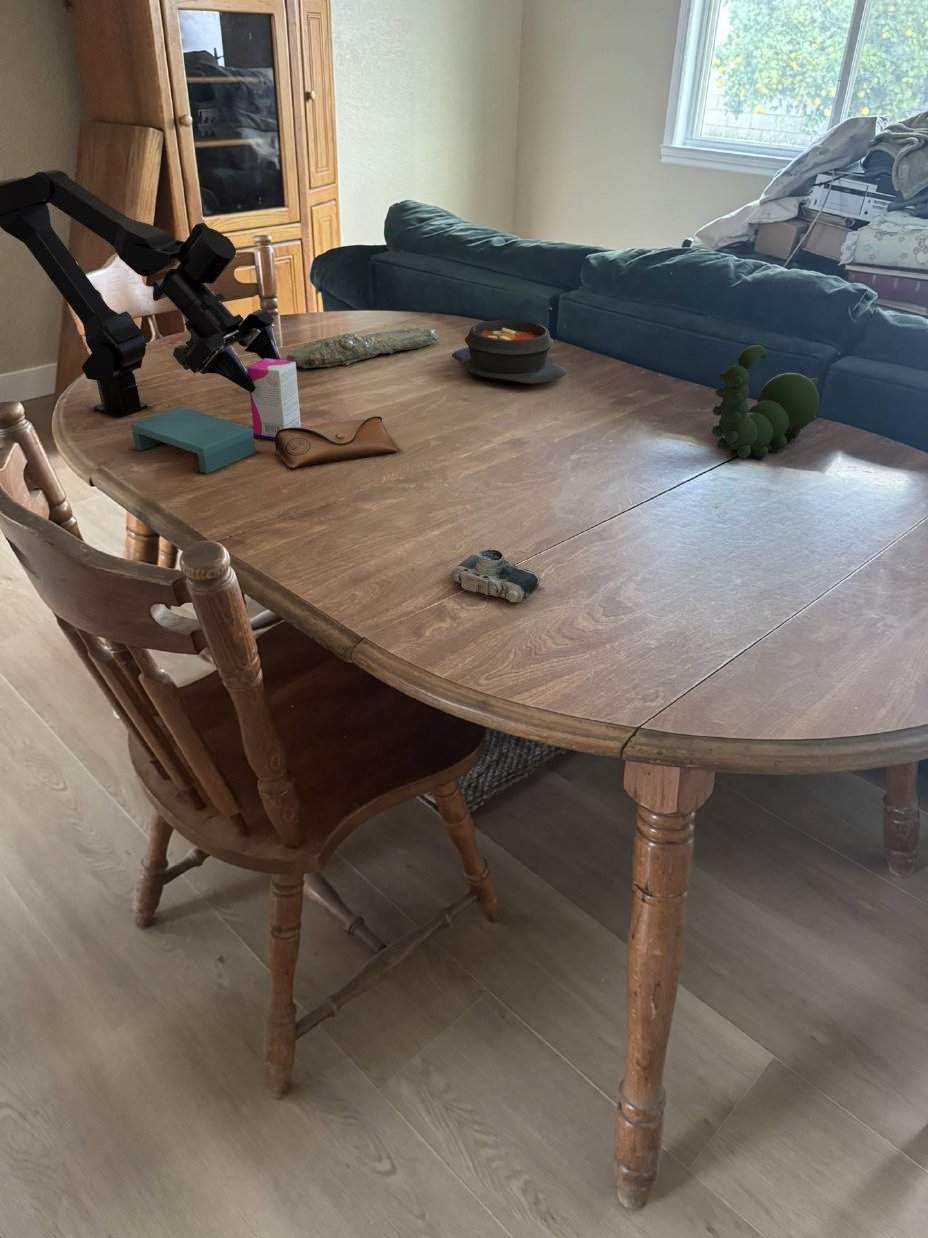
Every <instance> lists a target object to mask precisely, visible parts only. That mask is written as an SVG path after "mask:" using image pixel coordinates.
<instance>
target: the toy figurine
mask: <svg viewBox="0 0 928 1238" xmlns="http://www.w3.org/2000/svg"><path fill="white" fill-rule="evenodd" d="M760 358H761V359H766V358H767V350H766V349H765V347H764V346H761V345H759V344H755V345H754V344H753V345H750V346H749V347H747V348H745V349H744V350H742V352H741V353H740V354H739V356H738V359H737V364H735V365H731V366H729V368H727V369H726V371H723V372H720V374H719V380H721V381H722V382H724V384H723V386H720V387H717V389H716V390H715V395H716V396H717V397H718V398H721V399H722V401H721V402H720V404H719V405H715V406H714V407H713V409H712V413H713V415H715V416H720V418H719V420H718V424H716V425H715V426H712V429H711V434H712V435H713V437H715V438H718V440H717V442H716V446H717V448H718V449H719V450H721V451H725V450H728V449H729V448H732V449H734V450H736V453H737V456H738V457H739V458H744V459H745V458H747V457H749V456H750V455H751V453H753V454H754V456H756V457H757V458H759V459H762V458H765V457H766V456H767V455H768V453H769V448H768V447H767V446H768V445H770V447H771V448H772V449H774V450H782V449H784V448H785V446H786V445H787V443H788V441H791V440H795V439H797V438H798V437H799V436H800V434H801V430H802V429H804V428H805V427H807V426H808V425H809V424H810V423H813V422H814V421H815V420H816V415H817V414H818V410H819V406H820V396H819V392H818V389H817V385H818V383H819V378H818V377H813V378H808V377H807V376H806V375H803V374H802V373H797V372H785V373H781V374H778V375H776V376H774V377H772V378H771V379H769V380H768V381H767V382H765V384H764V385H763V386H762V388H761V390H760V391H759V393H758V396H757V400H756V403H754V404H753V405H752V406H751V407H750V406H749V405H750V404H749V402H748V400H747V399H748V396H749V394H750V393H749V392H750V391H749V386H748V384H747V383H748V381H749V373H748V370H749V369H751V368H753V367H754V365H756V363H757V362H758V361H759V360H760Z"/></svg>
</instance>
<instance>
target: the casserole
mask: <svg viewBox="0 0 928 1238" xmlns="http://www.w3.org/2000/svg"><path fill="white" fill-rule="evenodd" d="M464 342H465V344H466V345H467V346H466V347H463V348H461V349H457V350H455V351H454V352H453V353H452V354H451V357H452V358H453V359H454V360H456V361H457V362H458V363H459V364H460V366H461V367H462V369H464V370H466V371H467V372H469V373H471V374H474V375H477V376H479V377H483V378H485V379H489V380H493V381H499V382H515V383H521V384H526V385H527V384H528V385H532V384H533V385H534V384H542V383H547V382H552V381H555V380H558V379H561V378H562V377H564V376H566V375H567V374H568V372H567V370H566V369H565V368H564V367H562V366H560V365H559V364H558V363H556V362H555V361H554V360H553V359H552V358H551V357H550V356H549V352H550V349H551V348H552V347H553V346H554V340H553V339H552V338H551V335H550V332H549V329H548V328H547V327H545V326H543V325H541V324H539V323H535V322H531V321H525V320H518V319H517V320H516V319H494V320H493V319H492V320H487V321H482V322H478V323H476V324H474V325H472V326H471V327H470V329H469V332H468V335H466V337H465V338H464Z"/></svg>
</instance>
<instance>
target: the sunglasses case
mask: <svg viewBox="0 0 928 1238" xmlns="http://www.w3.org/2000/svg"><path fill="white" fill-rule="evenodd" d="M274 445H275V451H276V454H277V455H278V457H279V459H280V460H281V461H282V462H283V463H284V465H286V466H287V467H288V468H290V469H297V468H302V467H306V466H310V465H317V464H326V463H332V462H339V461H346V460H347V461H348V460H355V459H357V460H358V459H363V458H371V457H375V456H380V455H384V454H389V453H392V452H398V451H399V449H398V448H397V447H396V446H395V445H394V443H393V442H392V440H391V437H390V435H389V433H388V431H387V429H386V427H385V424H384V423H383V418H382V417H381V416H378V415H374V416H370V417H366V418H363V419H356V420H346V421H336V422H329V423H322V424H315V425H309V426H304V427H303V426H301V427H300V428H298V427H297V428H296V427H293V428H284V429H281V430H279V431H278V432H277V433H276V436H275V440H274Z"/></svg>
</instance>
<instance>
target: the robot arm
mask: <svg viewBox="0 0 928 1238" xmlns="http://www.w3.org/2000/svg"><path fill="white" fill-rule="evenodd" d="M48 204H51V206H54V207H55V208H56V209H58V210H60V211H61V212H63V213H64V214H66V215H67V216H68V217H70V218H72V219H73V220H75V221H76V222H78V223H79V224H80V225H82V226H83V227H85V228H86V229H87V230H89V231H91V232H92V233H93V234H95V235H96V236H98V237H100V238H102V239H103V240H104V241H105V242H107V243H108V244H110V245H111V246H112V248H113V249H114V250H115V253H116V254H117V256H118V258H119V259H120V260H121V261H122V262H123V263H124V264H125V265H127V267H129V268H130V270H132V271H133V272H134V273H136V274H137V275H139V276H141V277H144V278H145V277H150V276H154V275H158V274H159V273H163V272H165V271H167V272H166V273H165V275H164V276H163V277H162V279H157V280H155V281H152V283H151V284H152V300H153V301H154V302H158V301H160V300H163V299H166V298H167V299H169V301H170V302H171V303H172V304H173V305H174V306H175V307H176V309H178V311H179V312H180V313H181V314H182V315H183V316H184V317H185V318H186V322H185V323H184V325H185V329H186V330H187V331H188V332H189V334H190V337H189V339H188V340H187V341H185V344H179V345H178V346H175V347H174V349H173V352H172V356H173V358H174V359H175V360H176V361H177V363H178V364H179V365H180V366H182V367H183V369H184V370H185V371H188V370H190V371H191V372H192V373H193V375H194V374H197V373H200V374H201V375H206V374H207V375H208V374H213V375H214V374H216V375H219V376H221V377H223V378H225V379H227V380H229V381H230V382H232V383H233V384H235V385H237V386H239V387H241V388H242V389H244V390H245V391H247V392H249V394H250V393H252V392H254V390H255V389H256V387H255V385H254V383H253V381H252V379H251V377H250V376H249V374H248V372H247V368H246V367H245V366H244V364H243V362H242V361H241V359H240V357H239V356H238V353H237V352H236V350H235V349H234V347H233V345H235V344H238V345H239V346H242V347H244V348H245V349H244V352H246V353H252V354H256V355H257V356H258V357H259V358H260V360H262V359H264V358H268V359H276V360H282V357H281V355H280V351H279V348H278V346H277V342H276V337H275V333H274V330H273V329H274V327H275V325H274V324H273V323H274V321H275V318H274V317H273V316H272V315H271V313H270V312H269V311H268V310H266V309H257V310H255V311H253V312H250V313H249V314H247V316H246V317H245V318H244V317H243V316H242V315H241V314H240V313H239V314H236V315H234V314H233V313H232V312H231V311H230V310H229V308H227V307H226V305H225V304H224V303H223V302H224V300H226V296H224V295H223V293H217V294H215V293H214V292H213V290H211V288H210V287H208V285H207V284H210V285H211V284H213V285H214V284H215V283H216V282H217V281H218V280H219V278H220V277H221V276H222V275H223V273H225V270H226V269H227V268H228V267H229V266H230V265H231V263H232V262H233V261H234V259H235V258H236V256H237V249H236V247H235V244H234V243H233V242H232V241H231V239H230V238H229V237H228V236H226V235H224V234H223V233H222V232H219V231H218V230H216V229H215V228H211V227H209V226H208V225H207V224H206V223H205V222H200V223H196V224H194V226H193V227H192V229H191V231H190V234H189V236H188V237H187V238H186V239H185V241H183V240H180V239H175V237H174V236H173V235H172V234H171V233H170V232H168V231H165V230H164V229H162V228H160V227H157V226H155V225H152V224H151V223H147V222H143V221H139V220H135V219H132V218H130V217H128V216H126V215H125V214H124V213H122V212H120V211H119V210H118V209H116V208H114V207H113V206H111V205H110V204H108V203H107V202H106V201H104V200H103V199H101V198H100V197H98V196H97V195H95V194H94V193H92V192H91V191H90V190H88V189H86V188H85V187H83V186H82V185H80V184H79V183H77V182H76V181H74V180H73V179H71V178H70V176H69V175H68V174H67V173H66V172H65V171H62V170H60V169H56V168H54V169H48V170H41V171H37V172H35V173H33V174H32V175H30V176H27V177H21V176H19V177H14V178H8V179H1V180H0V228H1V230H2V231H3V232H6V234H8V235H10V236H12V237H13V238H15V239H17V240H18V241H20V242H22V243H23V244H24V245H25V246H26V247H27V249H28V250H29V252H30V253H31V255H32V256H33V258H34V259H35V260H36V261H37V263H38V264H39V266H40V267H41V268H42V270H43V271H44V272H45V274H46V275H47V277H48V278H49V280H50V281H52V283H53V285H54V286H55V287H56V289H57V291H59V293H60V294H61V295H62V297H63V298H64V300H65V301H66V303H67V304H68V305H69V307H70V308H71V309H72V311H73V313H74V314H75V315H76V316H77V318H78V319H79V320H80V322H81V323H82V326H83V332H84V338H85V343H86V345H87V347H88V349H89V350H90V353H91V354H90V355H89V356H88V358H86V360H85V361H84V363H83V364H82V365H81V369H82V371H83V373H84V375H85V378H86V379H87V380H92V381H96V383H97V389H98V395H99V398H100V399H99V400H100V403H99V404H97V405H95V406H94V405H93V410H95V411H97V412H100V413H104V414H105V415H106V414H107V415H109V416H112V417H115V418H120V417H124V416H127V415H129V414H132V413H135V412H139V411H141V410H144V409H147V408H149V405H148V404H147V403H145V402H142V401H141V400H140V399H141V398H140V393H139V388H138V384H137V381H136V375H135V374H134V373H133V371H136V370H138V369H141V368H142V366H143V365H142V364H143V359H144V357H145V355H146V352H147V348H146V347H147V342H146V339H145V337H144V335H143V333H144V330H142V329H141V328H140V327H139V325H137V324H136V322H135V320H134V319H133V316H132V315H131V314H130V313H129V312H128V311H126V310H125V311H122V312H120V313H118V312H116V311H115V310H113V309H111V308H110V306H109V305H108V304H107V302H106V301H105V300H104V298H103V297H102V296H101V294H100V293H99V292H98V290H97V288H96V287H95V286H94V284H93V283H92V281H91V280H90V278H89V277H88V276H87V275H86V273H85V272H84V271H83V269H82V268H81V267H80V265H79V263H78V262H77V261H76V259H75V258H74V257H73V255H72V254H71V252H70V251H69V250H68V248H67V247H66V246H65V244H64V243H63V241H62V240H61V238H60V237H59V235H58V234H57V233H56V231H55V230H54V228H53V226H52V221H51V212H50V208H49V206H48ZM178 263H179V265H178V266H177V267H176V265H177V264H178ZM175 267H176V268H175Z"/></svg>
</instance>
